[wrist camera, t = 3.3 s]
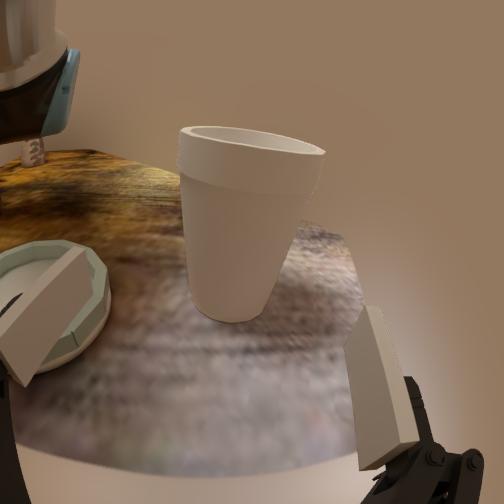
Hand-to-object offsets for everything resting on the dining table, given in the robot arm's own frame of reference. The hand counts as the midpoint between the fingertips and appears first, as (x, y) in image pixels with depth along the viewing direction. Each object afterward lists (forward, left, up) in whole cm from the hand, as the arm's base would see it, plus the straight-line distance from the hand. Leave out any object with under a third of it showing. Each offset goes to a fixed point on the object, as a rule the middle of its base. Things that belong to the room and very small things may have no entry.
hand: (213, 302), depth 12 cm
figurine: (-60, -34, -7) cm, 70 cm away
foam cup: (-8, +4, -7) cm, 12 cm away
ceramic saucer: (-8, -13, -7) cm, 17 cm away
